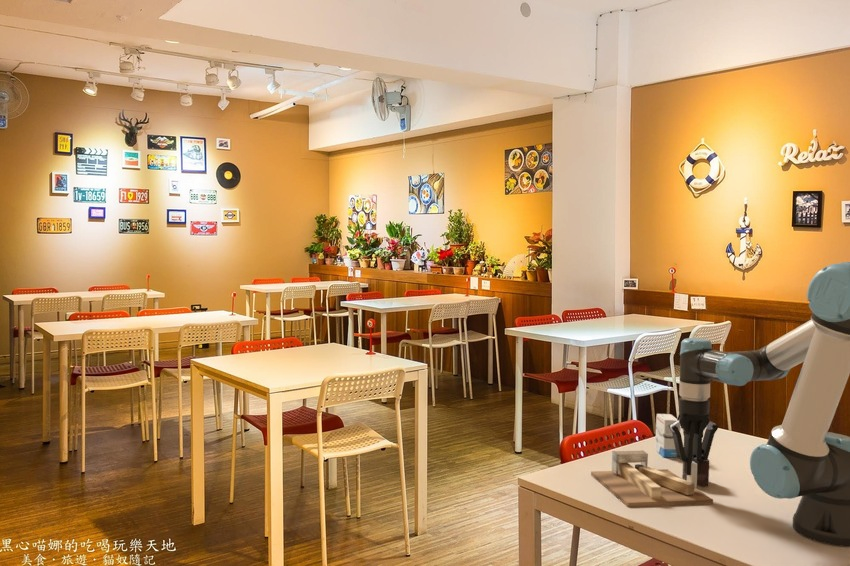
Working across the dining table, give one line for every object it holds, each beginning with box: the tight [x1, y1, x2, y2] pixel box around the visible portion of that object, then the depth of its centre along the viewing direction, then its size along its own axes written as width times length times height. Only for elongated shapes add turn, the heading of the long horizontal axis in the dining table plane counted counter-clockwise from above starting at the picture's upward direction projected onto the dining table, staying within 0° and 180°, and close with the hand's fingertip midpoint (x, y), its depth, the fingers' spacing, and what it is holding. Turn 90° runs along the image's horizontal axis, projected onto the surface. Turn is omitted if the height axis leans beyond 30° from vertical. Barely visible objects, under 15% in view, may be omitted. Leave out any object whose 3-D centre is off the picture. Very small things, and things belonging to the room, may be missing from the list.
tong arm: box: [634, 463, 694, 495], centre depth 190 cm, size 18×2×3 cm, turn 32°
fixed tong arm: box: [618, 463, 661, 499], centre depth 190 cm, size 22×2×3 cm, turn 9°
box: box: [681, 458, 710, 487], centre depth 196 cm, size 6×6×7 cm
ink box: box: [654, 413, 677, 458], centre depth 222 cm, size 8×5×12 cm, turn 179°
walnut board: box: [590, 469, 714, 508], centre depth 190 cm, size 24×23×1 cm
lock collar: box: [611, 450, 649, 475], centre depth 199 cm, size 3×9×6 cm, turn 99°
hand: (691, 486), depth 185 cm, fingers closed
